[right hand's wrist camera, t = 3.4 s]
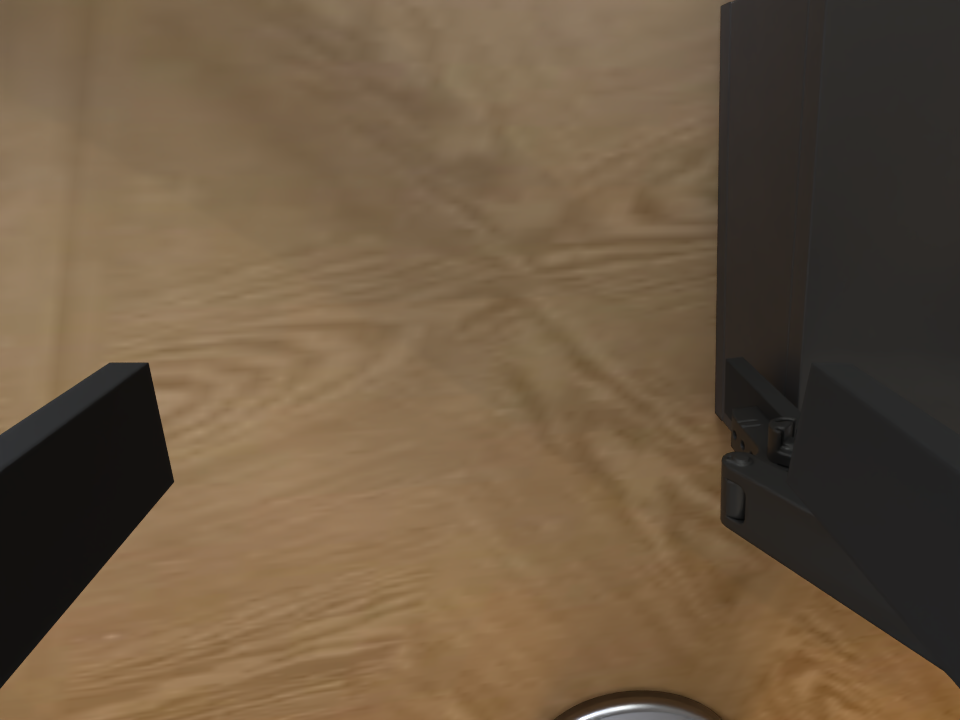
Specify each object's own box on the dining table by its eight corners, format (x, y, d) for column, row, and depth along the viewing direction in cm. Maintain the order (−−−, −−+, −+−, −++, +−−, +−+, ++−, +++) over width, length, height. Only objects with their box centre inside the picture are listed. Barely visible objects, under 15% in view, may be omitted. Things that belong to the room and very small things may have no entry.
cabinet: (720, 5, 27) (828, -44, 19) (983, -33, 26) (1214, -101, 18) (715, 412, 34) (790, 507, 26) (919, 389, 34) (1063, 477, 25)
